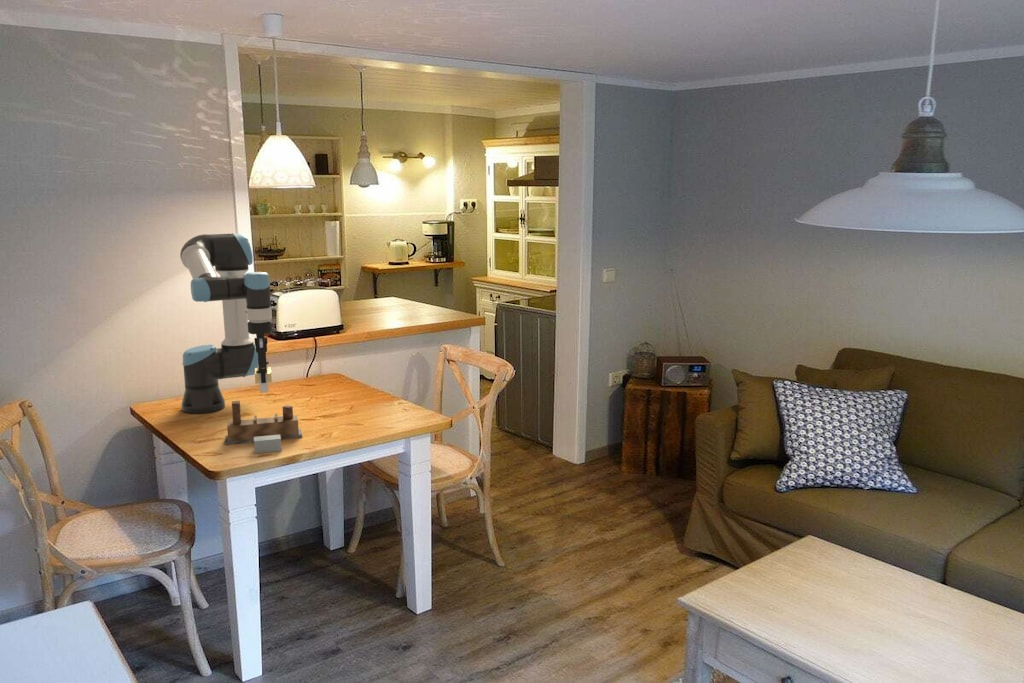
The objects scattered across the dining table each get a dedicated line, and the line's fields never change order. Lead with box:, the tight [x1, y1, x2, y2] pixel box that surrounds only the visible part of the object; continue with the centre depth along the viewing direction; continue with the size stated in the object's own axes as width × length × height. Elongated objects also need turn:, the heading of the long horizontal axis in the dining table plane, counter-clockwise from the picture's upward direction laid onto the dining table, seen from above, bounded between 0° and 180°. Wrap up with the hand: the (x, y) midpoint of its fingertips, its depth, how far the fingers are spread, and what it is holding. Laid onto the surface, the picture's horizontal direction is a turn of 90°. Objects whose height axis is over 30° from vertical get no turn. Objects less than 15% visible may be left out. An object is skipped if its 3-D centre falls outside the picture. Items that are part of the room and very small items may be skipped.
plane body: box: [224, 400, 303, 446], centre depth 251 cm, size 24×6×13 cm, turn 109°
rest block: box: [253, 435, 282, 454], centre depth 241 cm, size 4×8×4 cm, turn 109°
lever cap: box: [254, 366, 273, 385], centre depth 248 cm, size 5×9×4 cm, turn 19°
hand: (263, 388), depth 249 cm, fingers closed on lever cap, 9 cm apart
